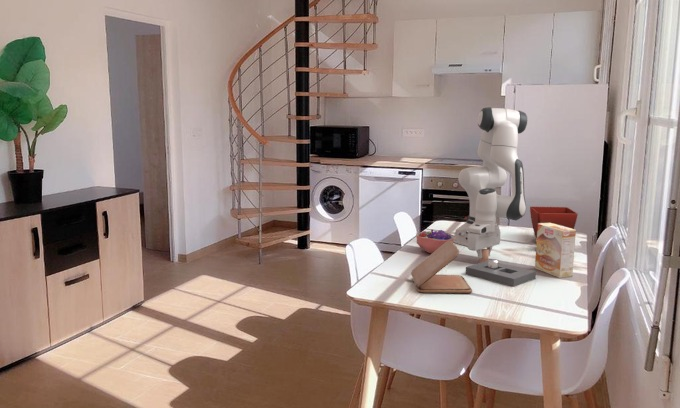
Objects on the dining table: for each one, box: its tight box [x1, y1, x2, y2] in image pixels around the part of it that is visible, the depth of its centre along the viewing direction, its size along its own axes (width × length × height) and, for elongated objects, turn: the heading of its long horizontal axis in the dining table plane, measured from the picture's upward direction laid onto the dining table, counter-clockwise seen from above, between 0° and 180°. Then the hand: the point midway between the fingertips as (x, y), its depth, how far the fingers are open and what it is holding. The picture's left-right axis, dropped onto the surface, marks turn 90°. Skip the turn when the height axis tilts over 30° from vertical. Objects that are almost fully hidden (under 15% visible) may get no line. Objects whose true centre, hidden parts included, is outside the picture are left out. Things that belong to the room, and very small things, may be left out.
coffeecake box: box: [534, 223, 577, 279], centre depth 228 cm, size 15×7×20 cm, turn 20°
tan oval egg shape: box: [478, 248, 490, 263], centre depth 242 cm, size 4×4×6 cm
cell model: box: [415, 229, 456, 254], centre depth 260 cm, size 17×20×11 cm
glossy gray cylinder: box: [488, 258, 499, 270], centre depth 225 cm, size 4×4×6 cm
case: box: [410, 241, 473, 294], centre depth 210 cm, size 20×21×16 cm
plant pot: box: [529, 206, 578, 240], centre depth 282 cm, size 19×19×17 cm
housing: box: [465, 260, 537, 287], centre depth 223 cm, size 22×16×3 cm
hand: (483, 257), depth 242 cm, fingers closed on tan oval egg shape, 4 cm apart
